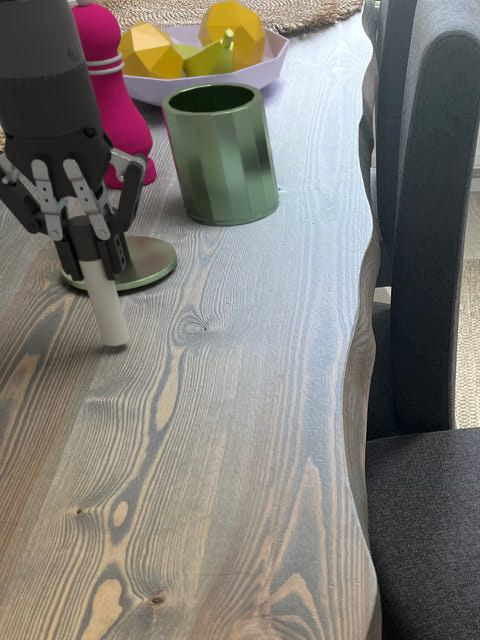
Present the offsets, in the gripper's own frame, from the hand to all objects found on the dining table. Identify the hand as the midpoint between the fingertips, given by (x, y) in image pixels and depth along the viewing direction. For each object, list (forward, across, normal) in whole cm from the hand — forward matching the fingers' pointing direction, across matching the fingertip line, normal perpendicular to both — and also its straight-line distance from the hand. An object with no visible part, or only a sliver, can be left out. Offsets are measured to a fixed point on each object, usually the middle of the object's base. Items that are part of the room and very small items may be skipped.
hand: (97, 276), depth 88 cm
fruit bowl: (+7, +6, -71) cm, 72 cm away
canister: (+7, -5, -32) cm, 33 cm away
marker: (+6, 0, 0) cm, 6 cm away
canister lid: (+6, +4, -16) cm, 18 cm away
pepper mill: (+7, +9, -41) cm, 43 cm away
